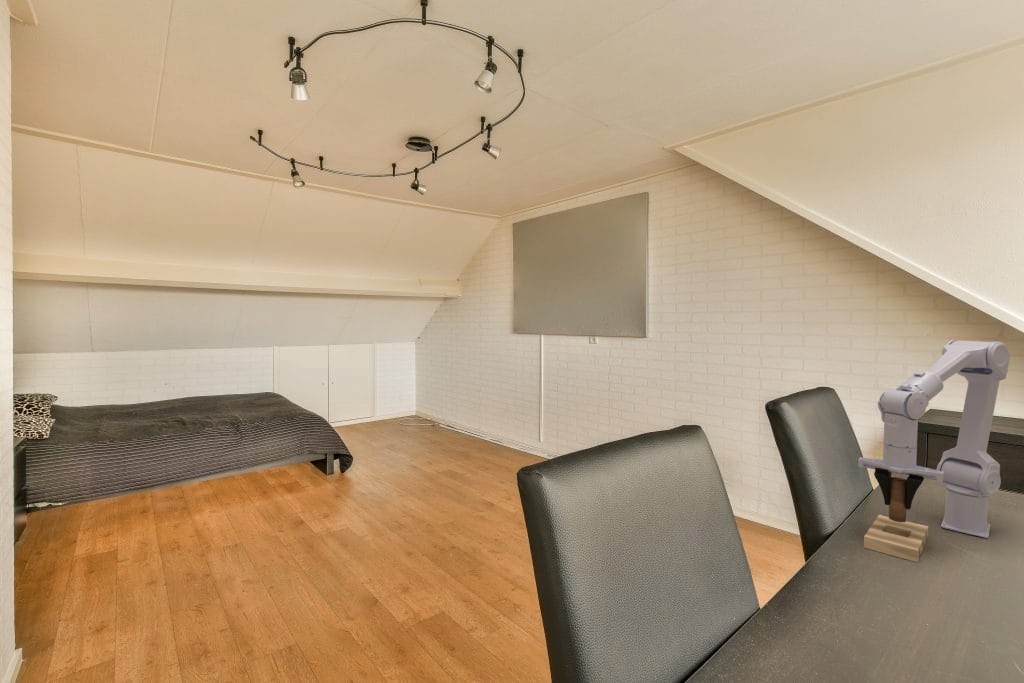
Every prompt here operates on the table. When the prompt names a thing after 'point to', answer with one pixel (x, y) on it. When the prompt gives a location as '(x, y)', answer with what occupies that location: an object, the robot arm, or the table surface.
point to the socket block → (896, 538)
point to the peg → (897, 499)
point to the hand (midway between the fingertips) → (897, 505)
